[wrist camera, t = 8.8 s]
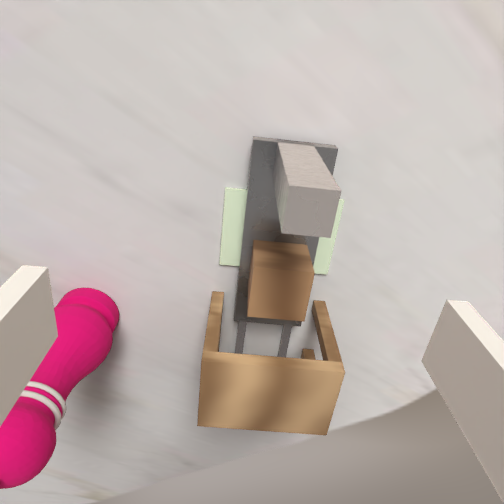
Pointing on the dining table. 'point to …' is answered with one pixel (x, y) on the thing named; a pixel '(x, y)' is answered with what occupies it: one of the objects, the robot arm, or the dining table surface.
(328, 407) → the tunnel
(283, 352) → the rails
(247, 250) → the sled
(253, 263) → the block
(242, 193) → the pad
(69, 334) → the pepper mill
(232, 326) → the dining table surface
